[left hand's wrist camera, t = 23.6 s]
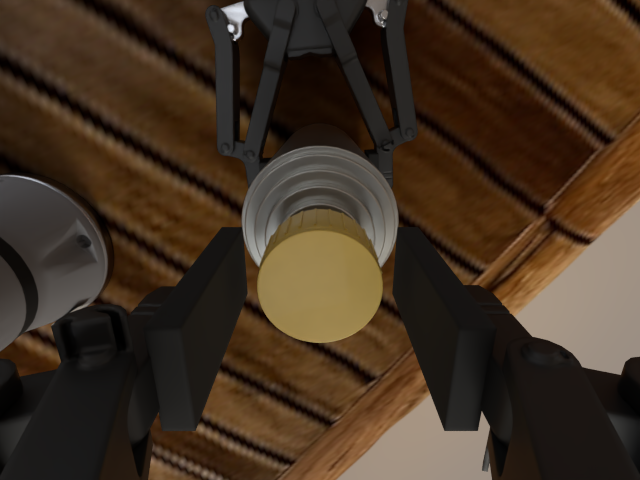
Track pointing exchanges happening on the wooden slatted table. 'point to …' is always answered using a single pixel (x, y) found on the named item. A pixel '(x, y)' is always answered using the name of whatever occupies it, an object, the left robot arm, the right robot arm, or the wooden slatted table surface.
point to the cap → (319, 277)
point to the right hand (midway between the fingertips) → (324, 233)
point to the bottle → (319, 189)
